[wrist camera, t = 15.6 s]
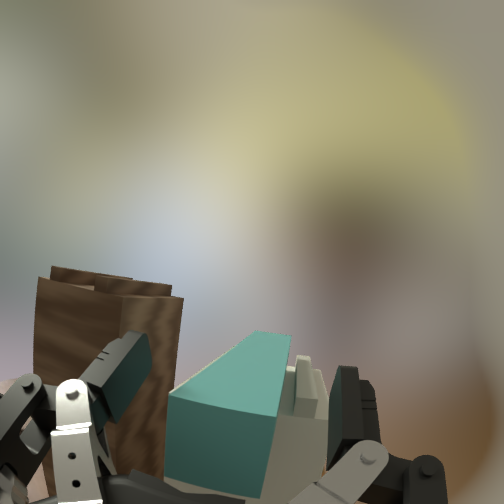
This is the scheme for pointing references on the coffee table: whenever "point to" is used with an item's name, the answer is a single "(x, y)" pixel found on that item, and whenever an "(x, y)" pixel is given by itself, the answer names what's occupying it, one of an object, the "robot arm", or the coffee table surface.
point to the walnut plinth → (92, 344)
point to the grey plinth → (289, 438)
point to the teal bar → (228, 418)
